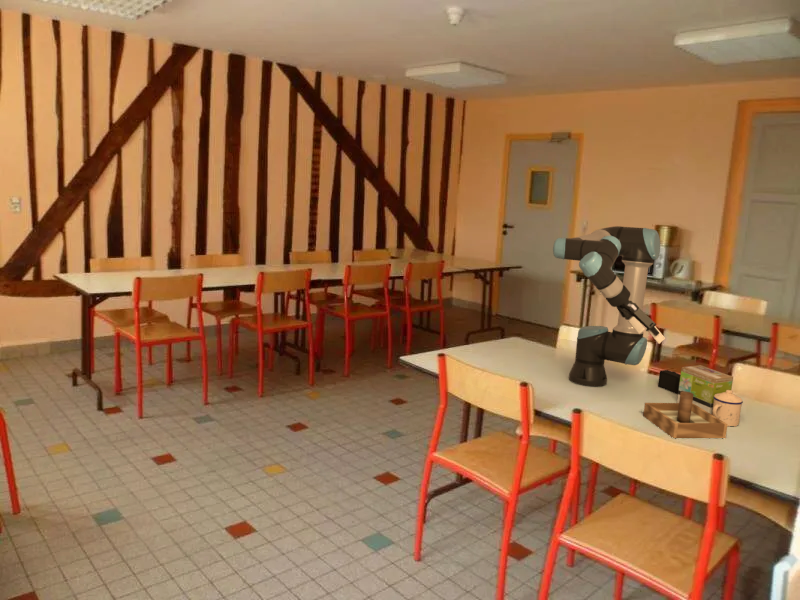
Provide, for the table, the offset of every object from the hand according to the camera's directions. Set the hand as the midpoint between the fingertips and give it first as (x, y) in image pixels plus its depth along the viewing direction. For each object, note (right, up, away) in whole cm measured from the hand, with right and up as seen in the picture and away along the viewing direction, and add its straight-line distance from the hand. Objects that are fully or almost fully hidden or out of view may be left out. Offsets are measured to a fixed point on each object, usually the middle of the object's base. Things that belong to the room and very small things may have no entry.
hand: (651, 336), depth 213 cm
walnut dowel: (+10, -31, -1) cm, 33 cm away
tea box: (+26, -28, +18) cm, 43 cm away
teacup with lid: (+26, -31, +4) cm, 41 cm away
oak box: (+10, -31, -1) cm, 32 cm away
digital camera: (+25, -25, +40) cm, 53 cm away
